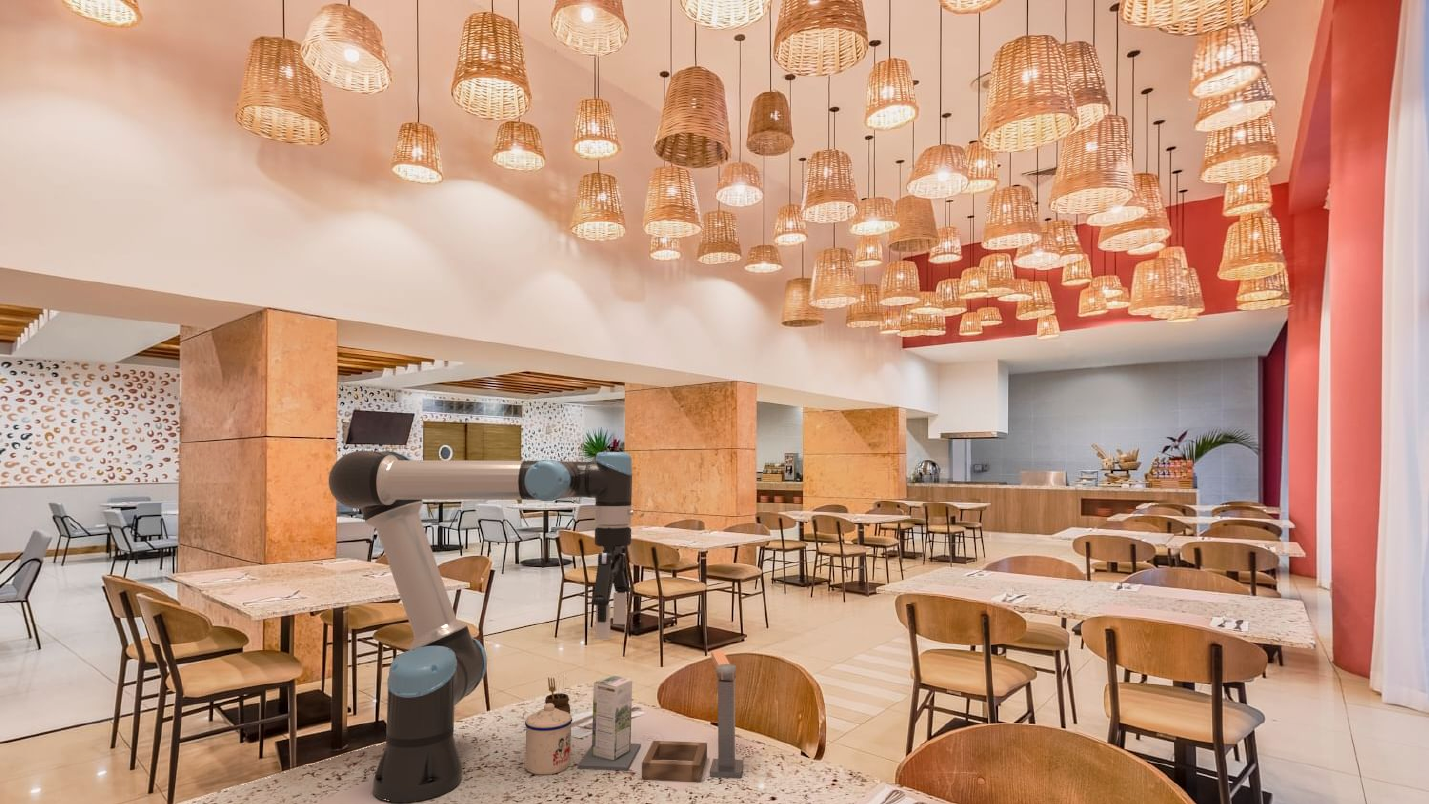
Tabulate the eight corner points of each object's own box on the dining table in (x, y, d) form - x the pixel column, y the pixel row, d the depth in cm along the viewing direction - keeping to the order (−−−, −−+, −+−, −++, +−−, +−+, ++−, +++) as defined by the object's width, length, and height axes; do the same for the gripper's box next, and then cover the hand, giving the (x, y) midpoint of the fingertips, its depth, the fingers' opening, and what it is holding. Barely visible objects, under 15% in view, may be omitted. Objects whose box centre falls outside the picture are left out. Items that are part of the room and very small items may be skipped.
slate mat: (577, 768, 138) (577, 765, 138) (594, 744, 150) (594, 741, 150) (627, 770, 137) (627, 767, 137) (640, 746, 149) (640, 743, 149)
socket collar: (641, 779, 133) (641, 762, 133) (653, 755, 144) (653, 740, 144) (700, 782, 132) (699, 765, 132) (707, 758, 143) (707, 742, 143)
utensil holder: (574, 725, 161) (575, 670, 162) (562, 735, 155) (563, 678, 156) (550, 723, 162) (551, 669, 164) (537, 733, 156) (538, 676, 158)
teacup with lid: (560, 777, 134) (561, 713, 135) (515, 774, 135) (517, 710, 136) (583, 752, 145) (584, 694, 147) (541, 749, 147) (543, 691, 148)
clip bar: (708, 657, 152) (708, 648, 153) (725, 657, 153) (725, 647, 153) (718, 680, 136) (718, 669, 136) (737, 679, 137) (737, 668, 137)
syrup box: (608, 746, 147) (609, 674, 149) (631, 751, 144) (632, 678, 146) (591, 756, 142) (592, 681, 144) (615, 761, 139) (616, 685, 141)
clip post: (709, 776, 134) (709, 683, 136) (713, 763, 140) (713, 674, 142) (741, 778, 133) (740, 684, 135) (743, 765, 139) (743, 675, 141)
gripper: (615, 531, 135) (614, 646, 133) (643, 522, 160) (642, 618, 158) (577, 531, 136) (575, 645, 134) (610, 521, 160) (609, 617, 158)
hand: (611, 631), depth 146 cm, fingers open, 13 cm apart
